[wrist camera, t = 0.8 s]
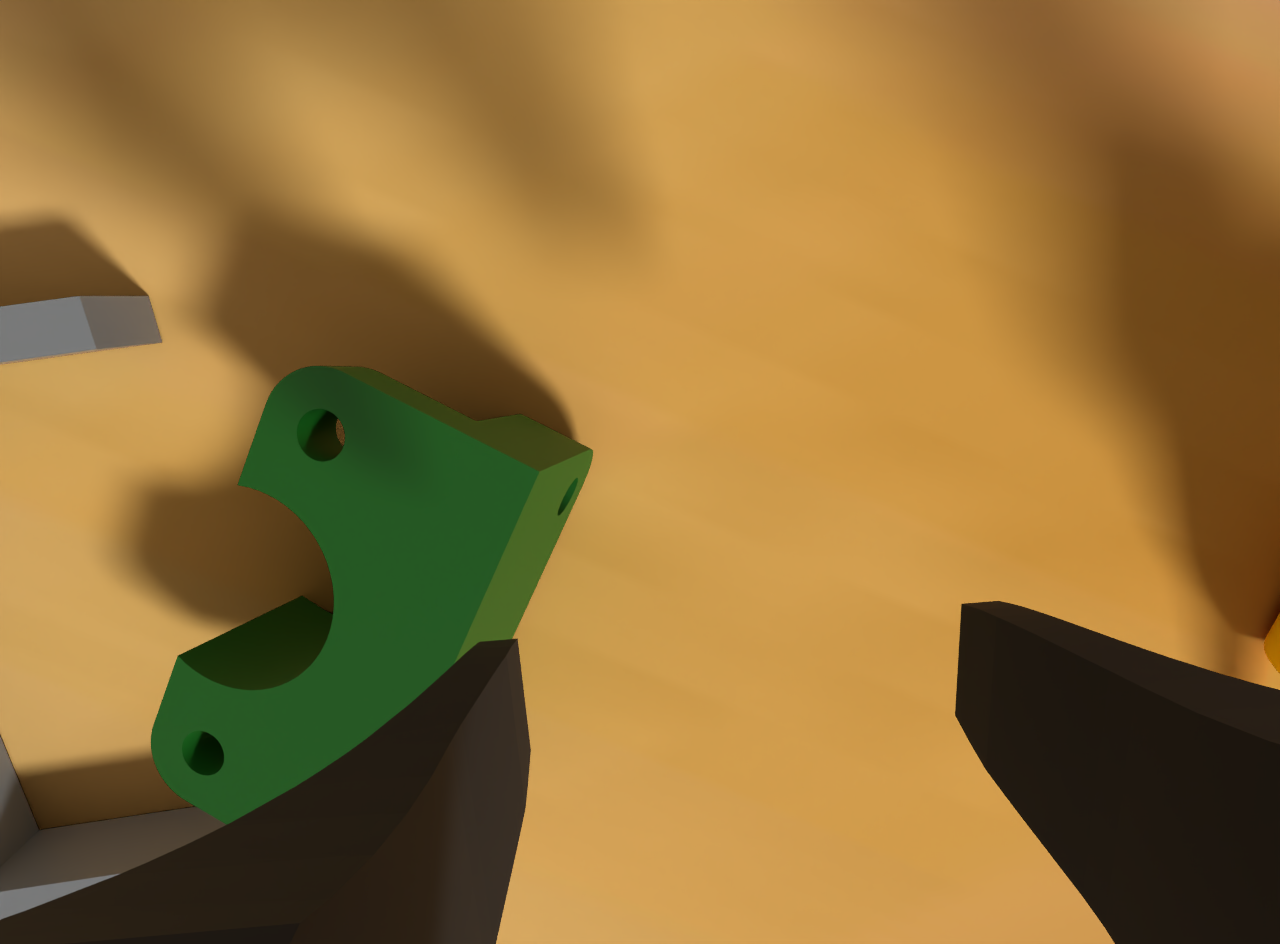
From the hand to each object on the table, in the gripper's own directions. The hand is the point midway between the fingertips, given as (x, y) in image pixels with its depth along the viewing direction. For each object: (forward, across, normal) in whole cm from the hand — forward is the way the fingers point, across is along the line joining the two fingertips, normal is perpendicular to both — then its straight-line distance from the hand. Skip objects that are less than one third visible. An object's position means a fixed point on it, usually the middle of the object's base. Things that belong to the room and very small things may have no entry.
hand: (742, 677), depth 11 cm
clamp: (+10, +8, +1) cm, 13 cm away
